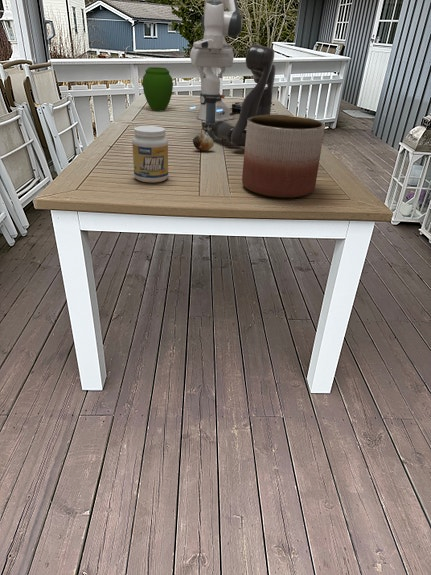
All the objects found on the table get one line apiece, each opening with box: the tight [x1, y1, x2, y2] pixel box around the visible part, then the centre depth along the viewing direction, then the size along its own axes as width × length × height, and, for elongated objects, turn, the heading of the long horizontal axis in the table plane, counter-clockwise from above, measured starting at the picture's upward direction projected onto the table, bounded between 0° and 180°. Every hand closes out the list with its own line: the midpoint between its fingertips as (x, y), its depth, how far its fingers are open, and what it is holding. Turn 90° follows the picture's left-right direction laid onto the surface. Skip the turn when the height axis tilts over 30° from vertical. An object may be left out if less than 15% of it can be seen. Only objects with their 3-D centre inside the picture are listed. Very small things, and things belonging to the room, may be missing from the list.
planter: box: [241, 114, 326, 199], centre depth 138 cm, size 25×25×22 cm
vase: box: [141, 66, 174, 112], centre depth 261 cm, size 20×20×24 cm
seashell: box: [192, 131, 215, 152], centre depth 181 cm, size 10×6×8 cm, turn 97°
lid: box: [205, 97, 217, 103], centre depth 198 cm, size 6×6×2 cm
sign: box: [231, 101, 243, 115], centre depth 282 cm, size 19×3×30 cm
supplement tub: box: [131, 125, 169, 183], centre depth 142 cm, size 12×12×17 cm
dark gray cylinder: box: [204, 102, 216, 139], centre depth 202 cm, size 5×5×18 cm
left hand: (211, 78), depth 193 cm, fingers open, 7 cm apart
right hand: (207, 123), depth 206 cm, fingers closed on dark gray cylinder, 4 cm apart
